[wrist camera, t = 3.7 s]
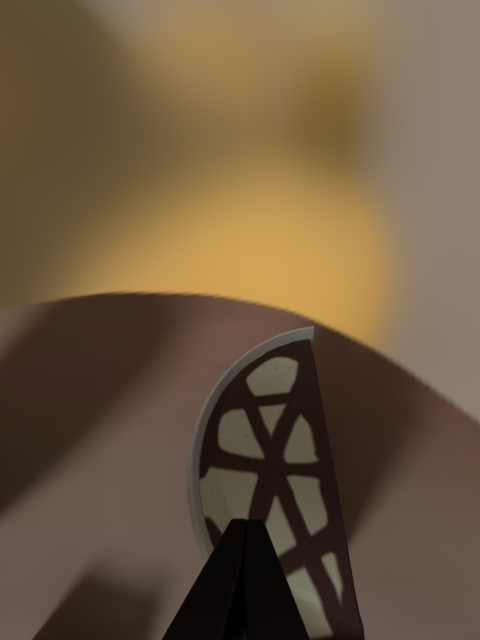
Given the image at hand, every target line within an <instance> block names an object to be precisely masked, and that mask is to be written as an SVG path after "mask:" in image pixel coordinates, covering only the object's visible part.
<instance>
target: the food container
mask: <svg viewBox="0 0 480 640" xmlns="http://www.w3.org/2000/svg"><path fill="white" fill-rule="evenodd" d="M313 334H314V326H310V327H305V328H299V329H295V330H291V331H288V332H285V333H282V334H279V335H276V336H274V337H272V338H270V339H268V340H266V341H264V342H262V343H260V344H258V345H257V346H255V347H254V348H252V349H251V350H250V351H248V352H247V353H245V354H244V355H243V356H242V357H240V358H239V359H238V360H237V361H236V362H235V363H234V364H233V365H232V366H230V367H229V368H228V369H227V371H226V372H225V373H224V374H223V375H222V377H221V378H220V379H219V380H218V381H217V383H216V384H215V385H214V387H213V389H212V390H211V392H210V394H209V395H208V397H207V399H206V400H205V402H204V404H203V406H202V409H201V411H200V414H199V416H198V418H197V421H196V423H195V427H194V431H193V435H192V438H191V442H190V446H189V455H188V464H187V498H188V504H189V510H190V516H191V522H192V527H193V530H194V533H195V536H196V539H197V543H198V546H199V549H200V552H201V555H202V557H203V559H204V561H205V563H206V562H207V560H208V558H209V557H210V555H211V553H212V551H213V550H214V548H215V546H216V545H217V543H218V541H219V539H220V538H221V536H222V534H223V532H224V531H225V529H226V527H227V525H228V524H229V522H230V520H231V519H233V518H245V519H246V520H248V519H249V518H262V519H263V520H264V522H265V525H266V528H267V530H268V533H269V535H270V538H271V540H272V543H273V545H274V548H275V551H276V553H277V556H278V558H279V561H280V563H281V566H282V569H283V571H284V574H285V576H286V579H287V581H288V584H289V586H290V589H291V592H292V594H293V597H294V599H295V602H296V604H297V607H298V610H299V612H300V615H301V617H302V620H303V622H304V625H305V627H306V630H307V633H308V635H309V638H310V640H365V639H364V627H363V624H362V620H361V617H360V613H359V609H358V603H357V598H356V593H355V587H354V582H353V576H352V570H351V564H350V558H349V552H348V547H347V541H346V535H345V530H344V524H343V519H342V513H341V507H340V501H339V494H338V488H337V482H336V476H335V470H334V464H333V458H332V453H331V448H330V443H329V438H328V433H327V428H326V423H325V417H324V412H323V406H322V400H321V395H320V389H319V384H318V378H317V373H316V367H315V362H314V356H313V351H312V345H313Z"/></svg>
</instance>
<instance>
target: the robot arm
mask: <svg viewBox="0 0 480 640" xmlns="http://www.w3.org/2000/svg"><path fill="white" fill-rule="evenodd" d="M162 640H310V638H309V635H308V633H307V630H306V627H305V625H304V622H303V620H302V617H301V615H300V612H299V610H298V607H297V604H296V602H295V599H294V597H293V594H292V592H291V589H290V586H289V584H288V581H287V579H286V576H285V574H284V571H283V569H282V566H281V563H280V561H279V558H278V556H277V553H276V551H275V548H274V545H273V543H272V540H271V538H270V535H269V533H268V530H267V528H266V525H265V522H264V520H263V519H262V518H249V519H248V520H246V519H245V518H233V519H231V520H230V522H229V524H228V525H227V527H226V529H225V531H224V532H223V534H222V536H221V538H220V539H219V541H218V543H217V545H216V546H215V548H214V550H213V551H212V553H211V555H210V557H209V558H208V560H207V562H206V564H205V565H204V567H203V569H202V571H201V572H200V574H199V576H198V578H197V579H196V581H195V583H194V584H193V586H192V588H191V590H190V591H189V593H188V595H187V597H186V598H185V600H184V602H183V604H182V605H181V607H180V609H179V610H178V612H177V614H176V616H175V617H174V619H173V621H172V623H171V624H170V626H169V628H168V630H167V631H166V633H165V635H164V637H163V638H162Z"/></svg>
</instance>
